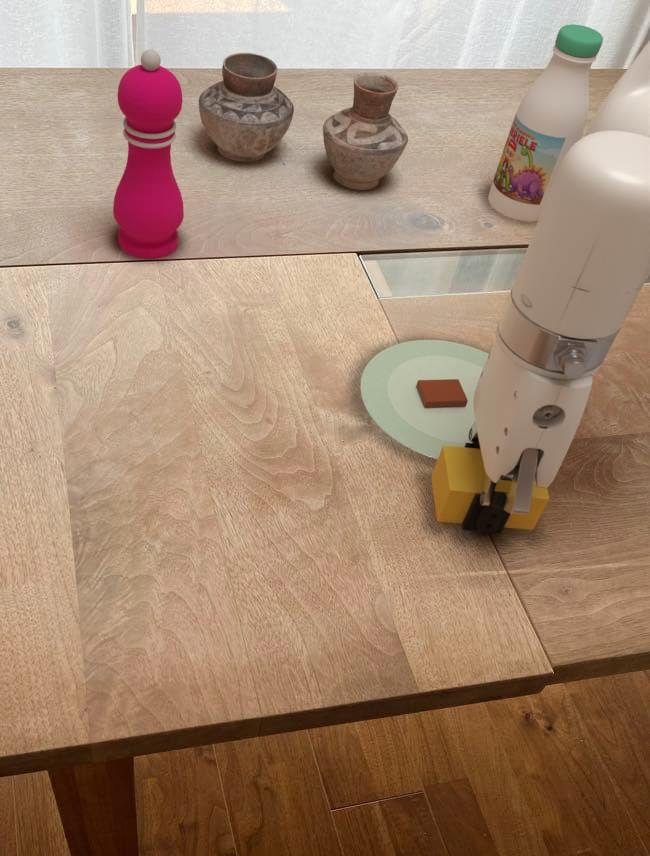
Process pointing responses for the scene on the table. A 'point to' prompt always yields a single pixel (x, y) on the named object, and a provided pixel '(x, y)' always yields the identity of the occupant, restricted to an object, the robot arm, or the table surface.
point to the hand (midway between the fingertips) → (476, 503)
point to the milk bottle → (546, 126)
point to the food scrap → (441, 393)
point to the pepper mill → (149, 161)
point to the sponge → (474, 488)
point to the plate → (400, 401)
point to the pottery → (272, 114)
